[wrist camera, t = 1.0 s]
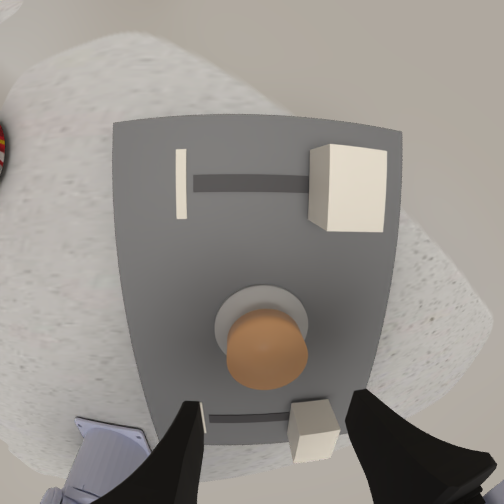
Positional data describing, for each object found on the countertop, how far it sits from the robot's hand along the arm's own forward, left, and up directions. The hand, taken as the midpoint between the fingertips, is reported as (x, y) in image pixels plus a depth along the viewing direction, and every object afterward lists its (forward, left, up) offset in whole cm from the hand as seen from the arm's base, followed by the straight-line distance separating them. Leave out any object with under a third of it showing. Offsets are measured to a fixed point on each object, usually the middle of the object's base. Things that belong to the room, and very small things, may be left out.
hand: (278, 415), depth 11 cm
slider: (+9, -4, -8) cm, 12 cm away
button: (0, 0, -6) cm, 6 cm away
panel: (0, 0, -9) cm, 9 cm away
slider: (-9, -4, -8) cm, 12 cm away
